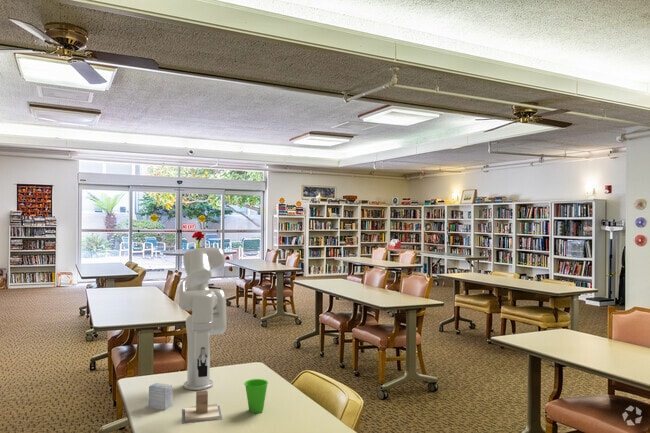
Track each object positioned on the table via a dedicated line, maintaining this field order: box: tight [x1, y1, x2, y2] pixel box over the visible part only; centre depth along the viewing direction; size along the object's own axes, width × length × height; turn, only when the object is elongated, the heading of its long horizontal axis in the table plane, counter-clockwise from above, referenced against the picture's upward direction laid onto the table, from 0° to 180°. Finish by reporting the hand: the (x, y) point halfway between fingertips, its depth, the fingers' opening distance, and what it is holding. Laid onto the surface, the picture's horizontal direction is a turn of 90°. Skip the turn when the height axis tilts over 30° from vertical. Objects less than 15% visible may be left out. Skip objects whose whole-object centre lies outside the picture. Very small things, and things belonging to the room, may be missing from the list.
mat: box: [181, 405, 223, 425], centre depth 179 cm, size 14×14×1 cm
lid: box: [184, 389, 219, 422], centre depth 179 cm, size 12×12×8 cm
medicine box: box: [148, 382, 173, 411], centre depth 187 cm, size 8×4×9 cm, turn 71°
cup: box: [243, 378, 269, 414], centre depth 183 cm, size 9×9×11 cm
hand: (202, 372), depth 179 cm, fingers open, 9 cm apart
